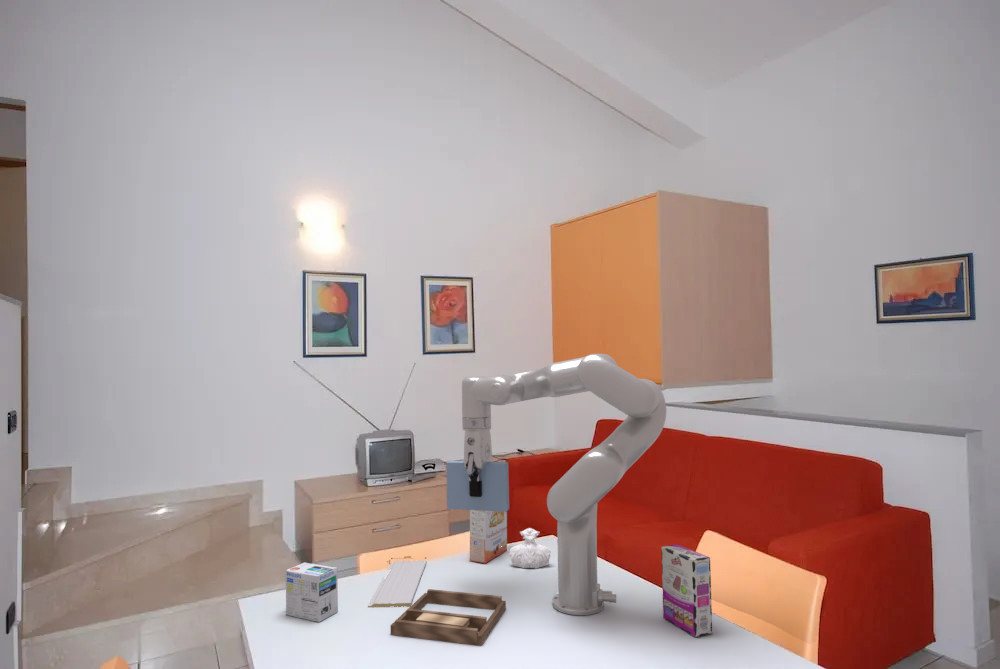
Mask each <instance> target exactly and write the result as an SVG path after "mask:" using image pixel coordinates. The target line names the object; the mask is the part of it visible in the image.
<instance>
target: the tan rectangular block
mask: <svg viewBox="0 0 1000 669" xmlns="http://www.w3.org/2000/svg"><path fill="white" fill-rule="evenodd" d="M416 622H424V623H433V624H441V625H450V626H459V627H467V626H468V625H469V624H470V621H469V619H468V618H460V617H453V616H445V615H438V614H430V613H423V614H422V615H420V616H419V617H418V618H417V619H416Z"/></svg>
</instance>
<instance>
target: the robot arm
mask: <svg viewBox="0 0 1000 669" xmlns="http://www.w3.org/2000/svg"><path fill="white" fill-rule="evenodd" d="M586 392H591V393H592V394H593V395H594V396H596V397H598V398H599V399H601V400H603V401H604V402H606V403H607V404H609V405H611V406H612V407H614V408H615V409H617V410H618V411H620V412H621V413H623V414H625V415H627V417H626V418H625V419H624V420H623V421H622V422H621V423H620V424H619V425H618V426H617V427H616V428H615V430H613V431H612V433H611V434H610V435H609V436H608V437H606V438H605V439H604V440H603V441H602V442H601V443H600V444H598V445H596V446H595V447H593V448H592V449H590V450H588V452H586V453H585V454H584V455H582V457H580V459H579V460H578V461H577V462H576V463H574V464H573V465H572V467H570V469H569V470H567V471H566V472H565V473H564V474H563V476H561V477H560V479H558V480H557V481H556V482H555V483H554V484H553V485H552V487H550V489H549V491H548V493H547V497H546V505H547V510H548V512H549V514H550V515H551V516H552V517H553V518H554V520H557V530H556V532H557V533H556V534H557V535H556V536H557V537H556V538H557V539H556V541H557V542H556V543H557V580H558V581H557V583H558V585H557V587H558V591H557V592H558V593H557V594H555V595H554V596H553V597H552V603H551V604H552V606H553V608H554V609H556V610H557V611H559V612H561V613H564V614H567V615H572V616H573V615H574V616H589V615H594V614H597V613H599V612H601V611H602V610H603V609H604V608H605V603H606V602H607V603H612V604H615V603H617V594H616V593H615V594H614V593H613V591H612V590H603V588H602V589H601V583H599V582H598V551H597V550H598V549H597V548H598V546H597V545H598V543H597V539H598V538H597V537H598V534H597V533H598V532H597V528H598V527H597V524H598V523H597V518H598V516H597V515H598V503H599V502H600V501H601V500H602V499H603V498H604V497H605V496H606V495H608V494H609V492H610V491H611V490H612V489H613V488H615V486H616V485H617V484H618V483H619V482H620V480H621V479H622V478H623V476H624V475H625V474H626V472H627V471H628V470H629V469H630V468H631V467H632V466H633V465H634V464H635V463H636V462H637V461H638V460H639V459H640V458H641V457H642V456H643V455H644V454H645V452H646V451H647V450H648V449H650V447H652V445H653V444H654V443H655V442H656V440H657V439H658V438H659V437H660V435H661V433H662V431H663V429H664V426H665V424H666V423H665V422H666V419H667V404H666V400H665V395H664V394H663V391H662V389H661V388H660V386H659V385H658V384H657V383H656V382H654V381H653V380H650V379H648V378H638V377H637V376H635V375H634V374H632V373H630V372H628V371H627V370H625V369H623V368H622V367H621V366H618V363H617V362H616V360H615V359H614V358H613V357H612V356H611V355H609V354H606V353H591V354H588V355H586V356H583V357H578V358H577V357H576V358H573V359H572V358H571V359H567V360H562V361H556V362H552V363H549V364H547V365H545V366H543V367H541V368H538V369H534V370H530V371H525V372H520V373H514V374H505V375H504V374H503V375H496V376H491V377H490V376H489V377H488V376H467V377H464V378H463V379H462V380H461V413H462V414H461V420H462V422H461V423H462V427H461V428H462V431H464V438H463V440H464V442H463V444H464V446H463V461H464V466H465V468H466V469H467V474H468V475H469V495H470V496H471V497H481V496H482V481H480V470H483V469H485V468H486V463H488V462H493V446H492V437H491V436H492V435H491V429H492V406H506V405H509V404H514V403H520V402H524V401H530V400H535V399H536V400H537V399H540V398H548V397H549V398H560V397H565V396H570V395H575V394H580V393H586ZM474 467H477V468H478V469H475V468H474ZM474 471H477V473H476V472H474Z"/></svg>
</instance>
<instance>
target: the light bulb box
mask: <svg viewBox="0 0 1000 669" xmlns="http://www.w3.org/2000/svg"><path fill="white" fill-rule="evenodd" d="M338 584H339V583H338V567H336V566H329V565H323V564H321V565H320V564H316V563H310V562H302V563H300V564H298V565H295V566H293V567H290V568H288V569H286V570H285V615H286V616H289V617H290V616H291V617H295V618H299V619H303V620H308V621H313V622H317V623H321V622H322V621H324V620H326V619H327V618H330V617H331V616H333V615H334V614H336V613H338V612H339V598H338V597H339V593H338Z"/></svg>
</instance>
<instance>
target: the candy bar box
mask: <svg viewBox="0 0 1000 669" xmlns="http://www.w3.org/2000/svg"><path fill="white" fill-rule="evenodd" d="M660 548H661V574H662V575H661V580H662V582H661V583H662V615H663V616H662V618H663V619H664V620H666V621H667V622H668V623H670V624H672V625H673V626H676V627H678V628H679V629H681V630H683V631H684V632H685V633H687V634H690V635H691V636H693V637H694V638H700V637H703V636H707V635H708V636H709V635H712V634H713V613H712V612H713V610H712V609H713V608H712V583H711V582H712V581H711V580H712V576H711V574H712V573H711V571H712V570H711V557H710V556H707V555H705V554H703V553H701V552H697V551H695V550H693V549H690V548H688V547H684V546H682V545H680V544H671V545H664V546H661V547H660Z"/></svg>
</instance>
